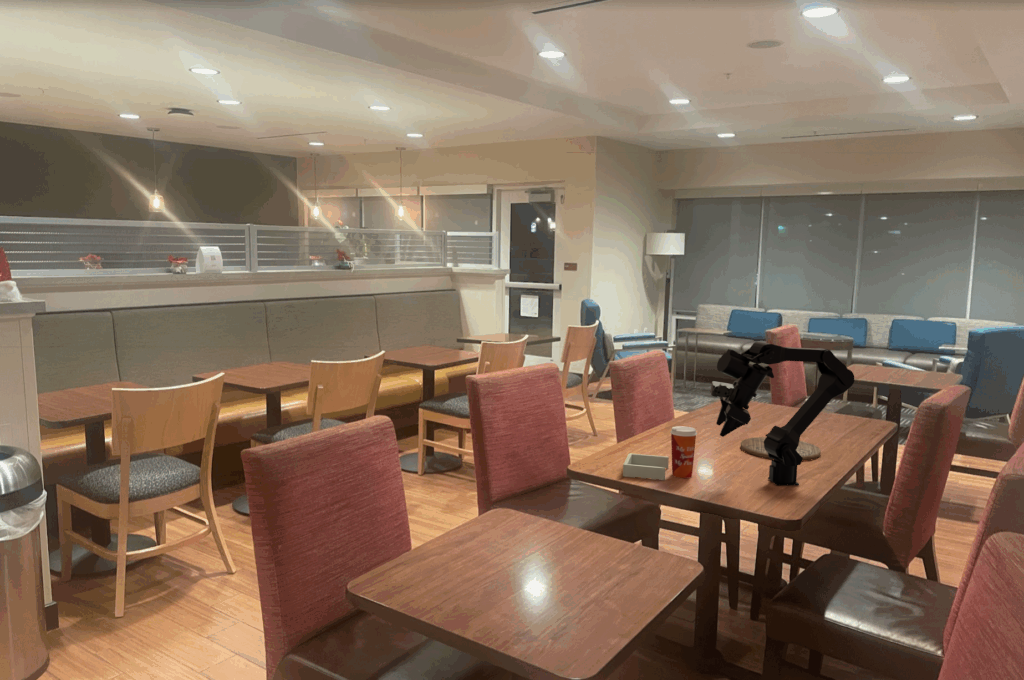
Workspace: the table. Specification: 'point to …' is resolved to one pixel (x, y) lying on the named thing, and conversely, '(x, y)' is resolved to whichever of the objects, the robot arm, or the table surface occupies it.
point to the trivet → (757, 448)
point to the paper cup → (683, 451)
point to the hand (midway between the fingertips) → (719, 430)
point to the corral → (645, 466)
